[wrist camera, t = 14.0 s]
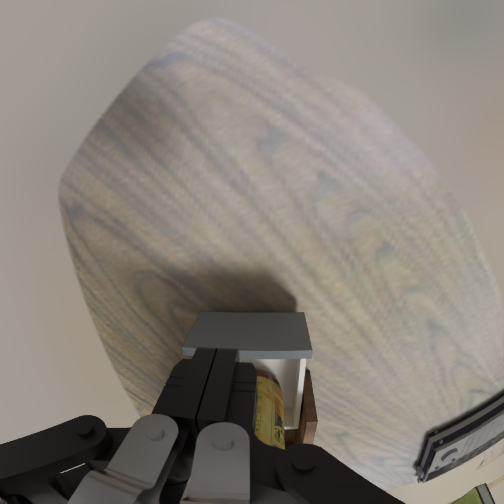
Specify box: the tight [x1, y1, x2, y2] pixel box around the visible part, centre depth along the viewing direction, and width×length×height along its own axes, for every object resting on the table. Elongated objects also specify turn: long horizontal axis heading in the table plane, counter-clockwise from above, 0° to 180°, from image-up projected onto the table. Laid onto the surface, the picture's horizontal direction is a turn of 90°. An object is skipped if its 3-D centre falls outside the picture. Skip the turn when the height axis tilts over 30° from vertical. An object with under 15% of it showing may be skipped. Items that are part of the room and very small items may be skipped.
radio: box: [416, 393, 504, 483], centre depth 31 cm, size 24×5×20 cm
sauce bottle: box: [252, 370, 285, 504], centre depth 18 cm, size 6×6×20 cm
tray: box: [182, 311, 312, 429], centre depth 25 cm, size 13×10×6 cm
